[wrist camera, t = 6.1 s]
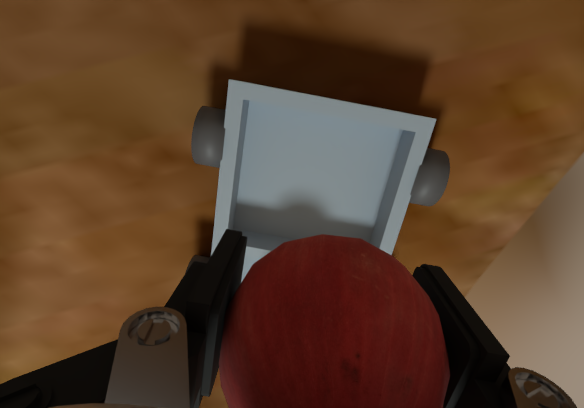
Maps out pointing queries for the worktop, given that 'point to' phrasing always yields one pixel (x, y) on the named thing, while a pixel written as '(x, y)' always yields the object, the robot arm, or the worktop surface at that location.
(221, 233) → the chassis
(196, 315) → the robot arm
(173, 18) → the worktop surface
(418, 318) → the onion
